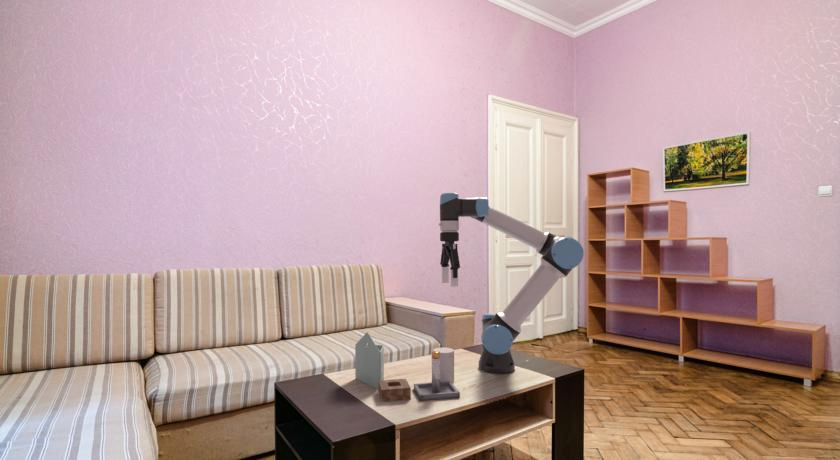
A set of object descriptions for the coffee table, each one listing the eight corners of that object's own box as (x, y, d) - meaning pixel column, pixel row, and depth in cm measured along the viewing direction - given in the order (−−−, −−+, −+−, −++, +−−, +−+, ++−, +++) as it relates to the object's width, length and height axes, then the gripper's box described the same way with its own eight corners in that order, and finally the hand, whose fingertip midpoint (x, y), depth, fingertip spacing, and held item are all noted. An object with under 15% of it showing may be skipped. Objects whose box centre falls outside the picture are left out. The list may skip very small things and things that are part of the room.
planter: (396, 384, 167) (396, 332, 167) (379, 389, 162) (379, 335, 162) (371, 374, 179) (371, 326, 180) (354, 379, 174) (354, 328, 174)
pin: (431, 390, 159) (430, 351, 159) (439, 389, 160) (438, 350, 160) (433, 393, 156) (432, 353, 156) (441, 392, 157) (440, 353, 157)
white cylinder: (452, 385, 166) (452, 353, 166) (431, 384, 168) (431, 352, 168) (455, 378, 174) (455, 348, 174) (435, 377, 176) (434, 347, 176)
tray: (450, 386, 165) (450, 381, 165) (459, 397, 154) (459, 392, 154) (413, 388, 162) (413, 383, 162) (420, 400, 151) (420, 395, 151)
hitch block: (405, 389, 162) (405, 378, 162) (410, 399, 152) (410, 387, 152) (378, 391, 160) (378, 380, 160) (381, 401, 150) (381, 389, 150)
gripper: (433, 231, 189) (433, 281, 189) (448, 231, 164) (449, 288, 164) (449, 231, 190) (450, 281, 190) (468, 231, 166) (468, 287, 166)
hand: (449, 284), depth 177 cm, fingers open, 13 cm apart
